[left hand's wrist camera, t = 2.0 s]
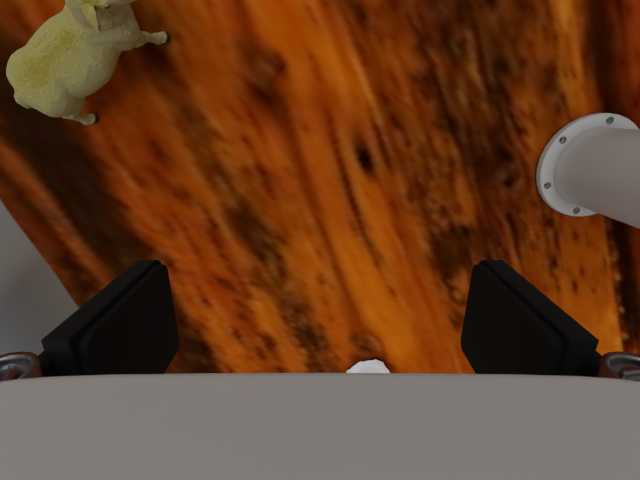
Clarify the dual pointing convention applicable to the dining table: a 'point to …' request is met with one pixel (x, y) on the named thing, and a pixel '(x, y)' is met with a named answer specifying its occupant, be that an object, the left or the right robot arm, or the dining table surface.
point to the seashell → (369, 367)
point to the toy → (75, 56)
